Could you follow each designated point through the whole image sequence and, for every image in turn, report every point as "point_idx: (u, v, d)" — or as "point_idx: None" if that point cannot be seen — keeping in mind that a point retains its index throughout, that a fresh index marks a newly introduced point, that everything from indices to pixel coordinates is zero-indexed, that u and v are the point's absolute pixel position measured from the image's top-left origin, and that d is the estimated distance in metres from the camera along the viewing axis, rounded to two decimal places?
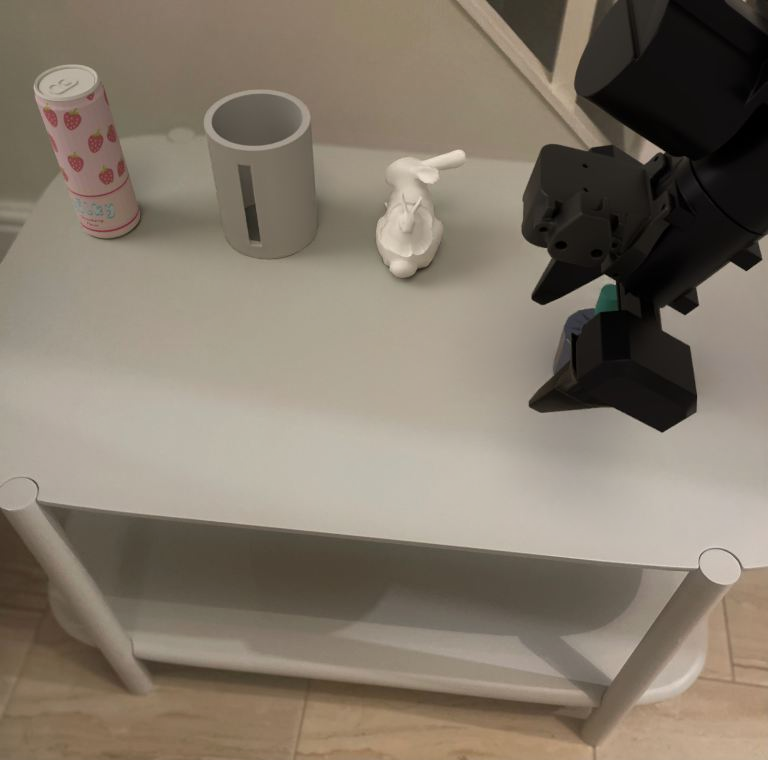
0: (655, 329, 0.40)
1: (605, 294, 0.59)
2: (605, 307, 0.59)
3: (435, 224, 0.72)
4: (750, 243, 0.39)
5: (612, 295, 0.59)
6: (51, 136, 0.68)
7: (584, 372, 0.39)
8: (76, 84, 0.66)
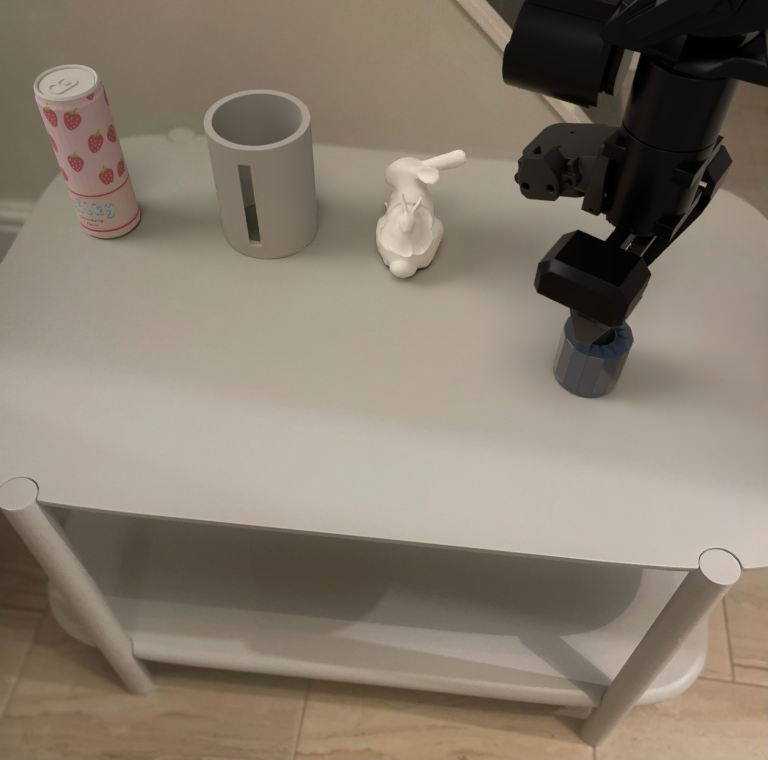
0: (604, 243, 0.49)
1: None
2: None
3: (435, 224, 0.72)
4: (676, 162, 0.47)
5: None
6: (51, 136, 0.68)
7: None
8: (76, 84, 0.66)
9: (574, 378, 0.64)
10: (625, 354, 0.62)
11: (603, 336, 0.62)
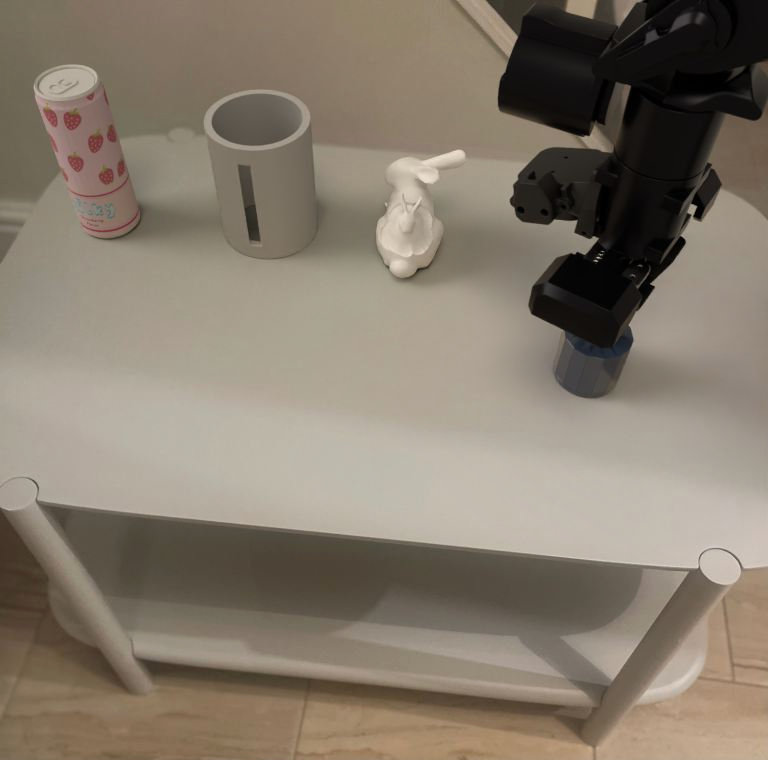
0: (596, 267, 0.51)
1: None
2: None
3: (435, 224, 0.72)
4: (666, 189, 0.48)
5: None
6: (51, 136, 0.68)
7: None
8: (77, 84, 0.66)
9: (574, 378, 0.64)
10: (625, 354, 0.62)
11: None
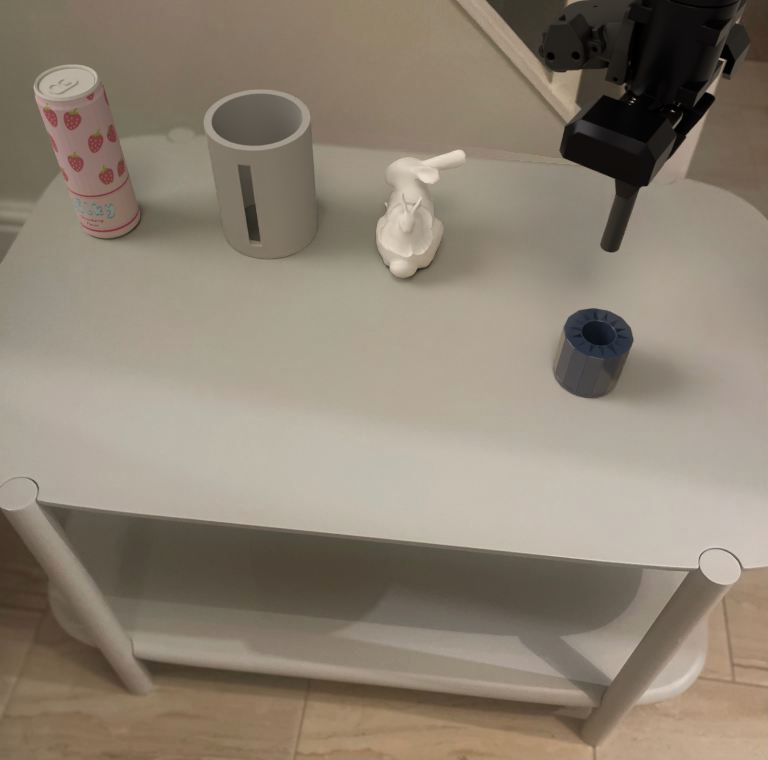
0: (630, 106, 0.50)
1: None
2: None
3: (435, 224, 0.72)
4: (703, 18, 0.47)
5: None
6: (51, 136, 0.68)
7: None
8: (77, 84, 0.66)
9: (574, 378, 0.64)
10: (625, 354, 0.62)
11: (629, 204, 0.61)
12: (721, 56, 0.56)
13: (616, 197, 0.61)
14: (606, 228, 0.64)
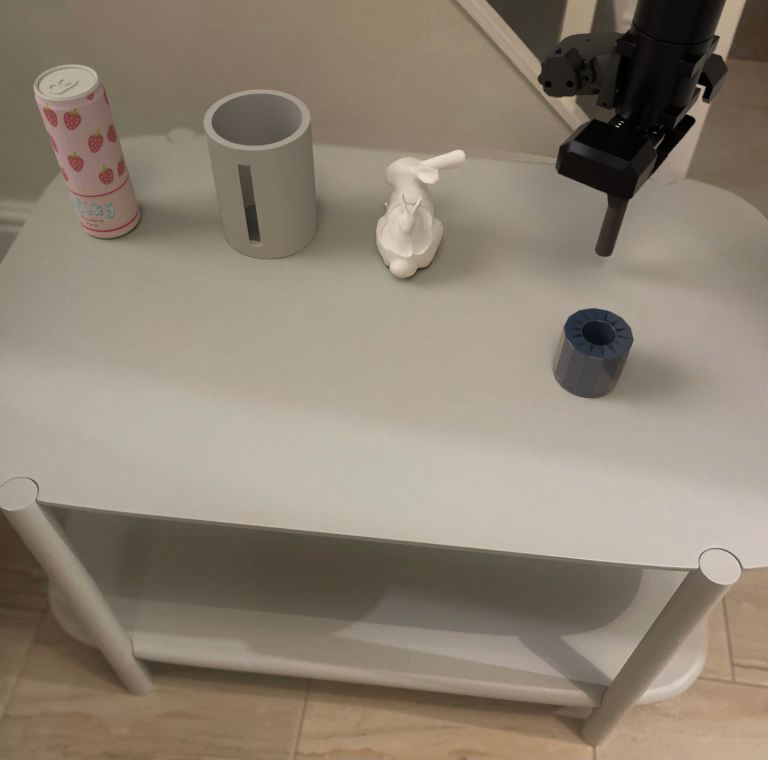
0: (617, 129, 0.57)
1: None
2: None
3: (435, 224, 0.72)
4: (679, 53, 0.54)
5: None
6: (51, 136, 0.68)
7: None
8: (77, 84, 0.66)
9: (574, 378, 0.64)
10: (625, 354, 0.62)
11: (619, 214, 0.68)
12: (700, 83, 0.63)
13: (608, 207, 0.68)
14: (600, 235, 0.71)
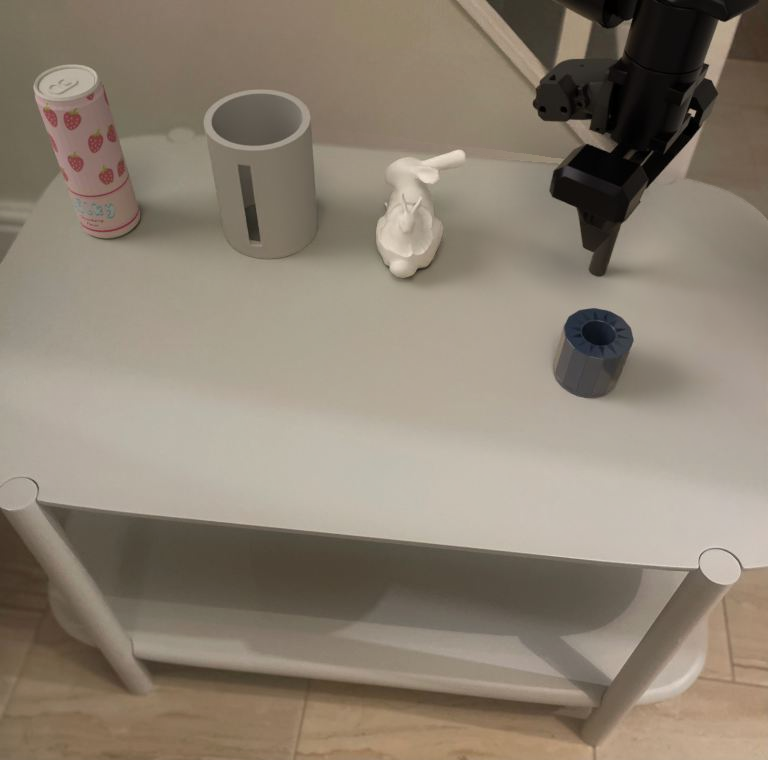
0: (609, 154, 0.59)
1: None
2: None
3: (435, 224, 0.72)
4: (669, 82, 0.56)
5: None
6: (51, 136, 0.68)
7: (551, 183, 0.60)
8: (77, 84, 0.66)
9: (574, 378, 0.64)
10: (625, 354, 0.62)
11: (612, 235, 0.70)
12: (691, 107, 0.65)
13: None
14: (593, 255, 0.73)
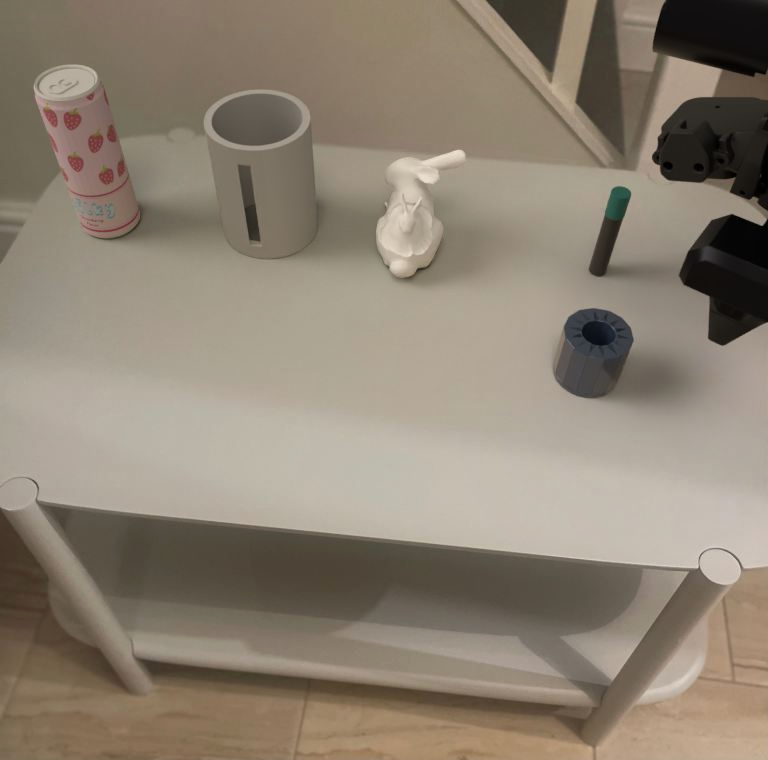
0: (764, 229, 0.44)
1: (614, 194, 0.67)
2: (614, 206, 0.68)
3: (435, 224, 0.72)
4: None
5: (621, 195, 0.67)
6: (51, 136, 0.68)
7: None
8: (77, 84, 0.66)
9: (574, 378, 0.64)
10: (625, 354, 0.62)
11: (612, 235, 0.70)
12: None
13: (601, 229, 0.70)
14: (593, 255, 0.73)
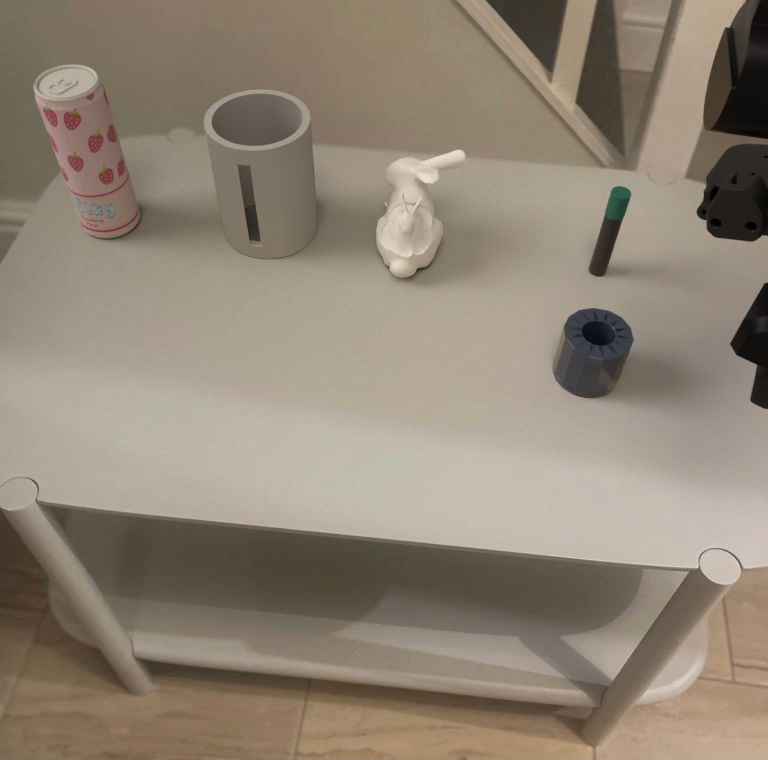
0: None
1: (614, 194, 0.67)
2: (614, 206, 0.68)
3: (435, 224, 0.72)
4: None
5: (621, 195, 0.67)
6: (51, 136, 0.68)
7: (734, 335, 0.41)
8: (76, 84, 0.66)
9: (574, 378, 0.64)
10: (625, 354, 0.62)
11: (612, 235, 0.70)
12: None
13: (601, 229, 0.70)
14: (593, 255, 0.73)
